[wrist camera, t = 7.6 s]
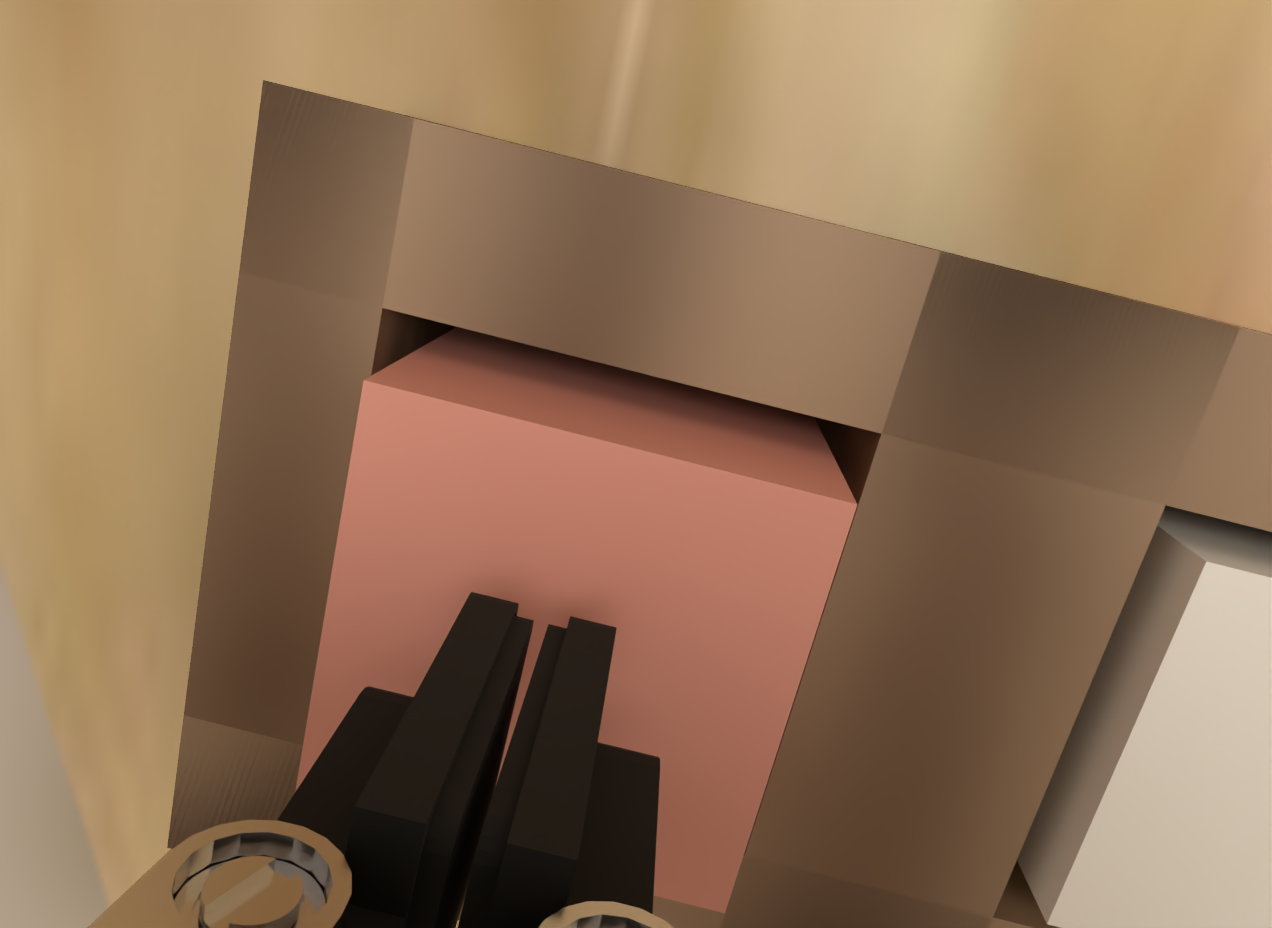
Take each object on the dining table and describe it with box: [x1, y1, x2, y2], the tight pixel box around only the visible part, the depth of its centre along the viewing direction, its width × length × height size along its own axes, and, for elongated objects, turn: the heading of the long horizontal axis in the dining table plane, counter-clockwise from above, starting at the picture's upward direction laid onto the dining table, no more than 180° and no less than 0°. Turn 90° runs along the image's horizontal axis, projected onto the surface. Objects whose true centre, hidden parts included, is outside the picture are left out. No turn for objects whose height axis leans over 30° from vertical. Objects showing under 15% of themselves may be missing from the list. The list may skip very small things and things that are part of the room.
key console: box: [167, 80, 1272, 928], centre depth 17 cm, size 22×12×6 cm, turn 76°
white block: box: [1017, 506, 1272, 928], centre depth 16 cm, size 6×6×5 cm
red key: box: [295, 327, 857, 913], centre depth 15 cm, size 6×6×5 cm
